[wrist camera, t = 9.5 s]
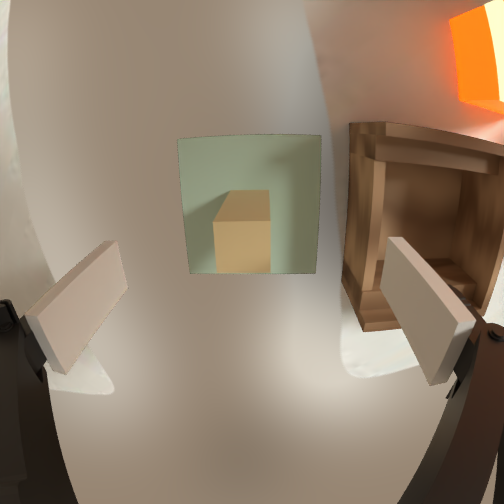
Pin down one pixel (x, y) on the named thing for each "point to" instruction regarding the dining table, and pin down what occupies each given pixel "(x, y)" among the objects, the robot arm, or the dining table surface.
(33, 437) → the robot arm
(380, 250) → the box
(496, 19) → the orange juice
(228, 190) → the cover plate
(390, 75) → the dining table surface
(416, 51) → the dining table surface
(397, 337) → the dining table surface
